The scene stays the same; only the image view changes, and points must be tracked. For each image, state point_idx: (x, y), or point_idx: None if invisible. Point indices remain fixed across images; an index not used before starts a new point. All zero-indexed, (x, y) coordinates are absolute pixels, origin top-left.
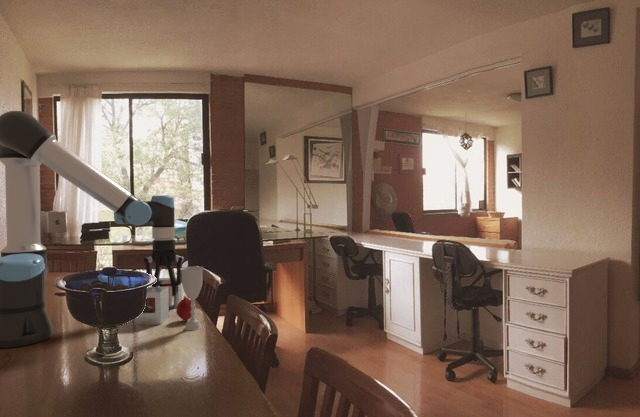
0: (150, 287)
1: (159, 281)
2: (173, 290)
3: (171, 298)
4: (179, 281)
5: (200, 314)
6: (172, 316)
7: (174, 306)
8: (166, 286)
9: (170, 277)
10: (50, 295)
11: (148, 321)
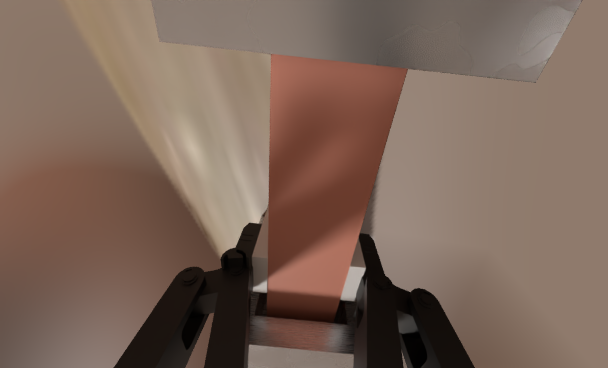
0: (435, 29)
1: (349, 344)
2: (249, 246)
3: (268, 208)
4: (171, 291)
5: (108, 68)
6: (244, 57)
7: None
8: (298, 292)
9: (236, 340)
10: None
11: None
